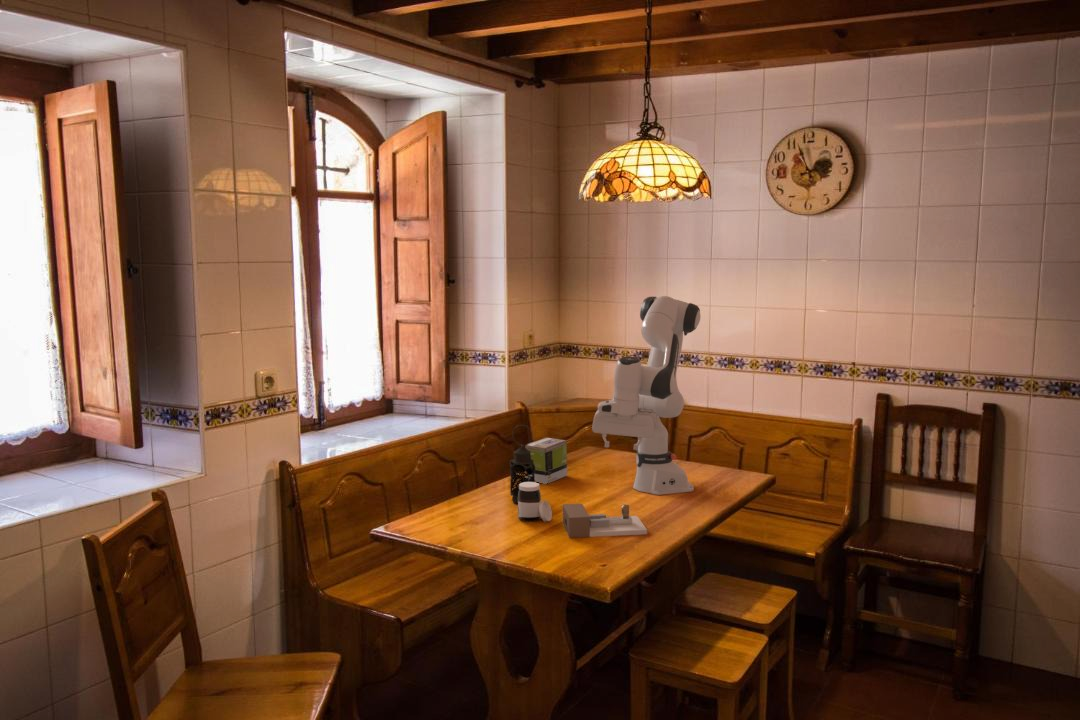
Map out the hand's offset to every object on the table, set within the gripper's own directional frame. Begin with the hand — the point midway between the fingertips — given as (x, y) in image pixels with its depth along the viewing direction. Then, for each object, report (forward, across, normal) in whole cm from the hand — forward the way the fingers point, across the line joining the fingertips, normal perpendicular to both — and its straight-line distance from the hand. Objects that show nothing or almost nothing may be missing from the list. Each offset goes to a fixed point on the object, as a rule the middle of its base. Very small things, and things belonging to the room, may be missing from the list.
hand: (621, 448), depth 283 cm
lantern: (+28, +33, -20) cm, 48 cm away
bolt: (+24, -1, +6) cm, 24 cm away
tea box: (+28, +27, -51) cm, 64 cm away
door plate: (+26, +3, +7) cm, 27 cm away
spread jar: (+28, +26, -1) cm, 38 cm away
